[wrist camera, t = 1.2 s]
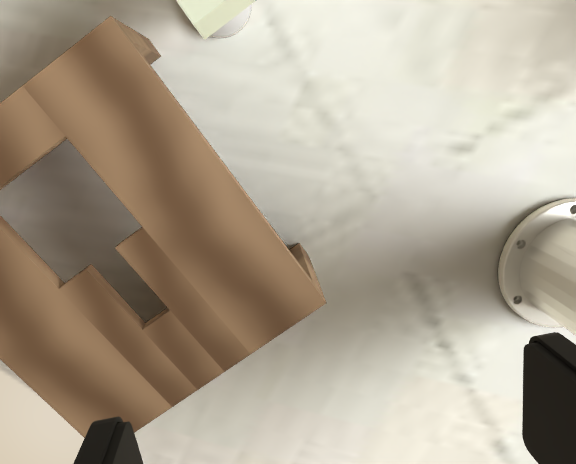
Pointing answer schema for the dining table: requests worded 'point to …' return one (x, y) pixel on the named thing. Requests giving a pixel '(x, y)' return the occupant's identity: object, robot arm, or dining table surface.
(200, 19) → the peg
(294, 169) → the dining table surface
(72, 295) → the keyhole shelf
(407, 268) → the dining table surface
